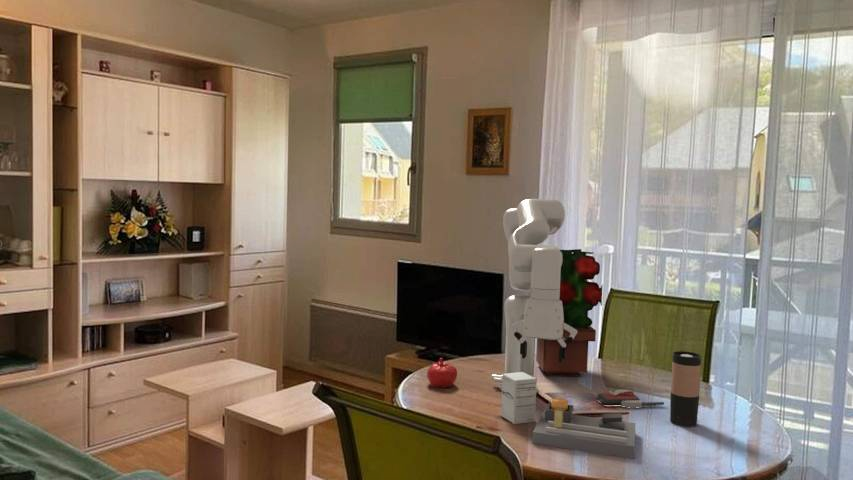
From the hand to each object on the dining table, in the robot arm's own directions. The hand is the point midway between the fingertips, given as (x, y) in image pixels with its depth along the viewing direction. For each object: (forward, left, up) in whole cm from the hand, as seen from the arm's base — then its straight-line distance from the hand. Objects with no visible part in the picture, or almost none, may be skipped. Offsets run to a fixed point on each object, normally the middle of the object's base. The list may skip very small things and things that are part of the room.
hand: (542, 359), depth 169 cm
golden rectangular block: (+5, -1, -17) cm, 18 cm away
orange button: (+4, +8, -16) cm, 18 cm away
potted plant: (-3, +70, -21) cm, 73 cm away
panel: (+11, +4, -21) cm, 24 cm away
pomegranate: (-38, +35, -21) cm, 56 cm away
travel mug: (+37, +28, -21) cm, 51 cm away
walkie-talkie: (+22, +39, -22) cm, 50 cm away
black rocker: (+18, +8, -16) cm, 25 cm away
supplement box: (-8, +12, -21) cm, 25 cm away
